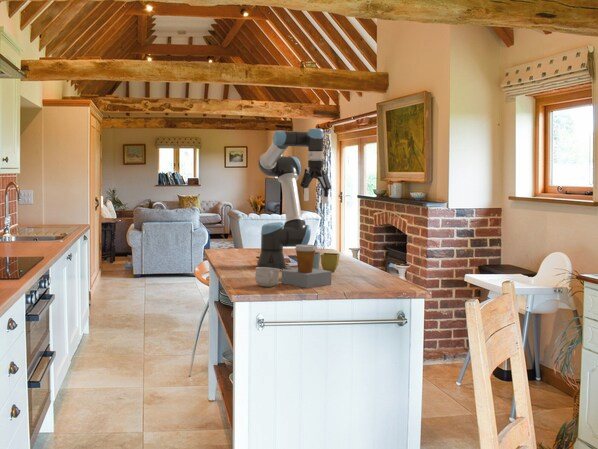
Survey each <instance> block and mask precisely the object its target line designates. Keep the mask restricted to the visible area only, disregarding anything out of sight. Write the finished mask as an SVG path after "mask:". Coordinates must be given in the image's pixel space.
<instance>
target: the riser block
mask: <svg viewBox="0 0 598 449" xmlns="http://www.w3.org/2000/svg"><path fill="white" fill-rule="evenodd" d="M332 273H333V272H332V271H326V270H323V269H320V268H319V269H314V268H313V269H312V272H311V273H300V272H298V267H296V268H290V269H288V268H287V269H282V270H281V284H285V285H288V286H289V285H290V286H292V287H293V286H295V287H298V288H304V289H310V288H311V289H312V288H316V287H324V286H330V285H332Z"/></svg>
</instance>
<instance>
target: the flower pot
mask: <svg viewBox="0 0 598 449" xmlns="http://www.w3.org/2000/svg"><path fill="white" fill-rule="evenodd" d="M339 262H340V253H338V252H337V253H334V252H333V253H332V252H322V253H321V254H320V264H321V267H322V268H321V269H322V270H326V271H332V273H334V272H335V271H336V270H337V268H338V265H339Z"/></svg>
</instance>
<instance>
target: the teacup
mask: <svg viewBox="0 0 598 449" xmlns="http://www.w3.org/2000/svg"><path fill="white" fill-rule="evenodd" d="M280 272H281V268H270V267H258V266H257V267H255V274H254V275H255V278H254V279H255V282H256V284H257V285H258V286H261V287H267V288H268V287H270V288H271V287H275V286H276V285H277V284H278V283H279V279H280Z"/></svg>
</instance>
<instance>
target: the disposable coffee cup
mask: <svg viewBox="0 0 598 449" xmlns="http://www.w3.org/2000/svg"><path fill="white" fill-rule="evenodd" d="M316 250H317V248H316V245H314V244H307V245H304V244H302V245H296V247H295V251H296V252H295V254H296V264H297V268H298V272H300V273H311V272H312V269H313V262H314V256H315V252H316Z"/></svg>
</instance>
